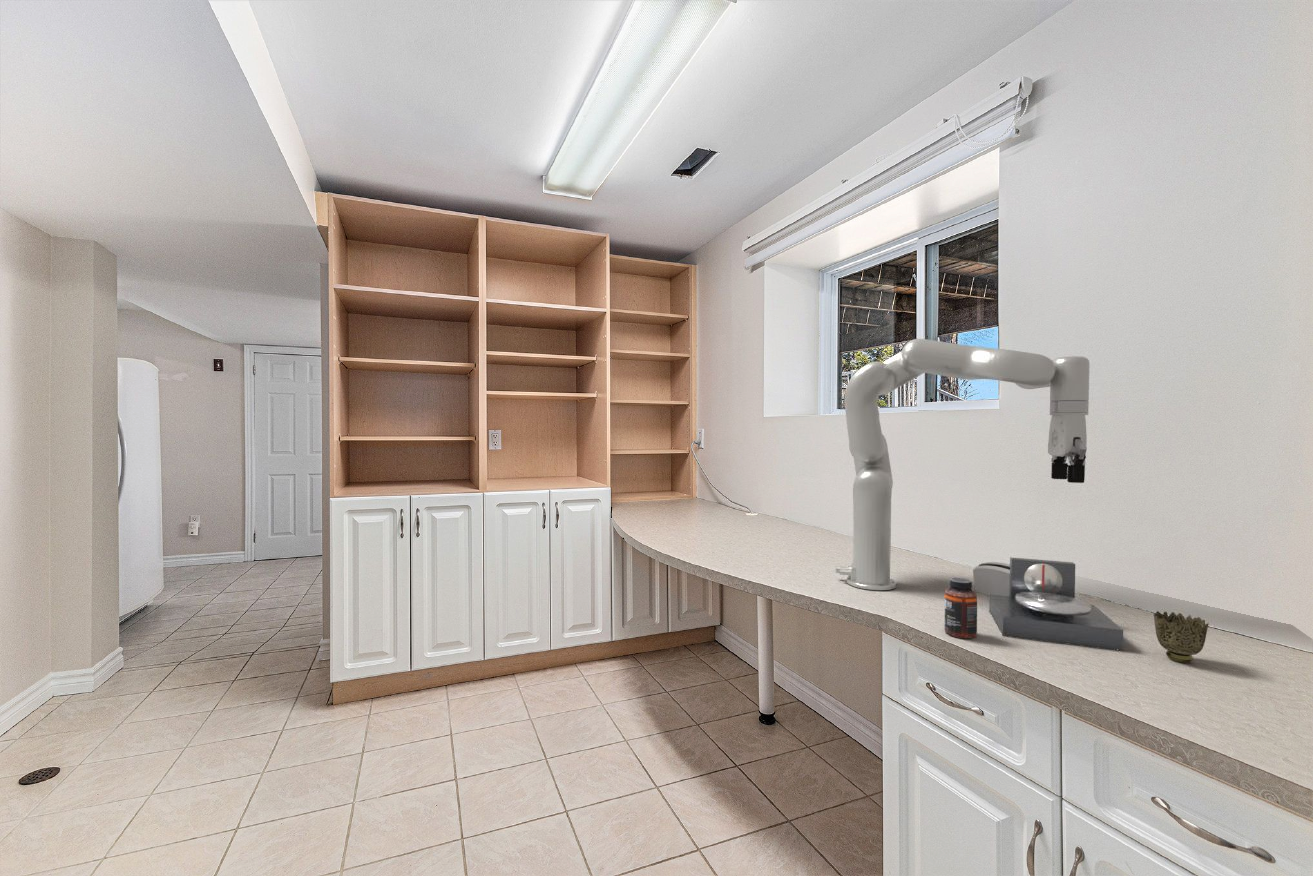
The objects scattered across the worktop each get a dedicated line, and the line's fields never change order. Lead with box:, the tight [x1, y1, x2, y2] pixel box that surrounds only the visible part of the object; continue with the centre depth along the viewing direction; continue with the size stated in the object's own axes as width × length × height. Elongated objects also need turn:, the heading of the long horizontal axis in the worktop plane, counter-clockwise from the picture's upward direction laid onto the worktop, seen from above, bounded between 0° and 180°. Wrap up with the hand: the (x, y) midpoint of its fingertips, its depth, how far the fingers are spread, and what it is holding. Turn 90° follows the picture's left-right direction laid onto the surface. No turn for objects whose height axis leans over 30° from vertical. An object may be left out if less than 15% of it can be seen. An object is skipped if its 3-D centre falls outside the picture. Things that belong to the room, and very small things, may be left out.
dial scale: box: [988, 556, 1124, 651], centre depth 122 cm, size 20×17×13 cm
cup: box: [1153, 610, 1209, 664], centre depth 106 cm, size 8×7×8 cm
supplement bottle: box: [944, 577, 978, 640], centre depth 118 cm, size 6×6×11 cm
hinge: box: [972, 561, 1010, 596], centre depth 143 cm, size 17×5×10 cm, turn 25°
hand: (1067, 480), depth 137 cm, fingers open, 9 cm apart
